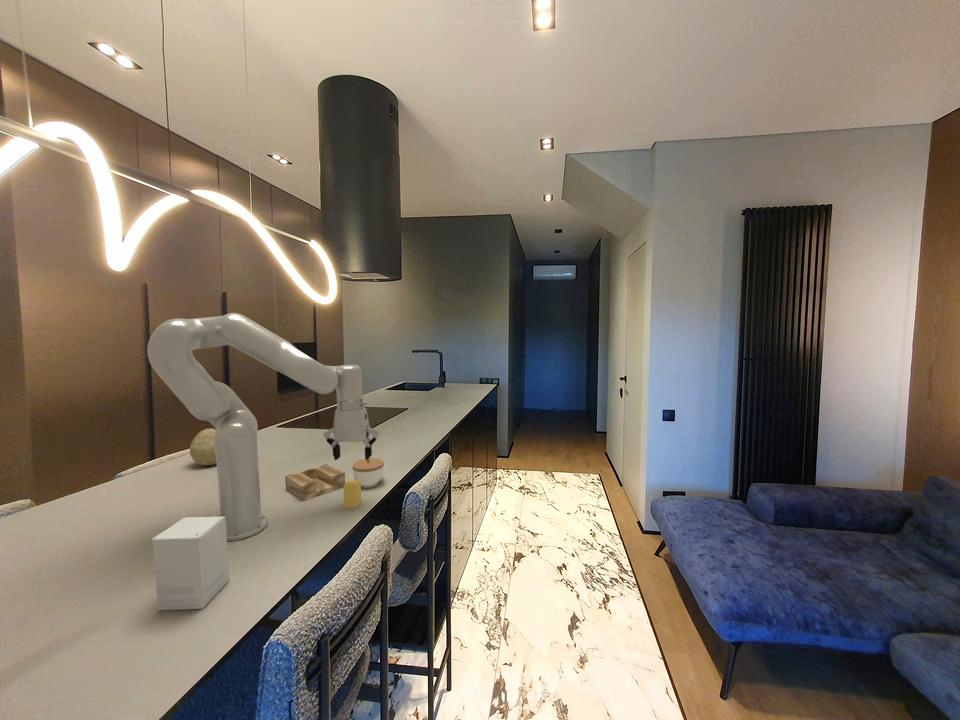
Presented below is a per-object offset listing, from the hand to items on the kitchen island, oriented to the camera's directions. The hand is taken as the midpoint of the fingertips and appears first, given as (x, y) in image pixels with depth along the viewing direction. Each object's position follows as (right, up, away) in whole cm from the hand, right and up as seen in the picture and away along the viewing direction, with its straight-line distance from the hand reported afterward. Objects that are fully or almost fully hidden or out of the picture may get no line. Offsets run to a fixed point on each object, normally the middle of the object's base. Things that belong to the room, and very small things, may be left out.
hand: (352, 458), depth 118 cm
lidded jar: (0, -14, +17) cm, 22 cm away
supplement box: (-20, -19, -39) cm, 47 cm away
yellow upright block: (0, -15, +1) cm, 15 cm away
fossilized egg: (-71, -12, +36) cm, 80 cm away
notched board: (-17, -14, +13) cm, 26 cm away
